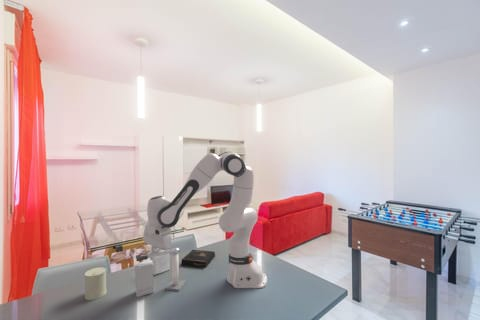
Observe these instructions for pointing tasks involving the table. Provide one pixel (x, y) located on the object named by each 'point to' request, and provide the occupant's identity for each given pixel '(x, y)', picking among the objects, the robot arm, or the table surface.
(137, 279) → the skincare box
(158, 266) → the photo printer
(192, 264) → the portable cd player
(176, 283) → the post
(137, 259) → the swing arm
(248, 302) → the table surface
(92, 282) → the can
